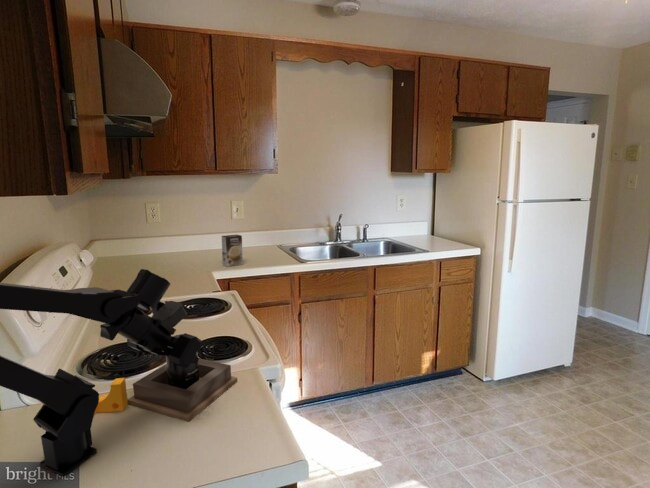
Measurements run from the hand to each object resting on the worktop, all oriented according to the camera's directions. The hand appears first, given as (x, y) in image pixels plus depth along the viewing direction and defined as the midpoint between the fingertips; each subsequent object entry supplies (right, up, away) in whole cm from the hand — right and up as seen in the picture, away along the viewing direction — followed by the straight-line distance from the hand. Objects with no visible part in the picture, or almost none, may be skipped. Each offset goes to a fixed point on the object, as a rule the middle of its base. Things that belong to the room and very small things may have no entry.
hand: (187, 357), depth 92 cm
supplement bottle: (-1, -7, 0) cm, 7 cm away
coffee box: (-18, +15, +124) cm, 126 cm away
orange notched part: (-17, -10, -7) cm, 21 cm away
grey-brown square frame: (-1, -8, 0) cm, 8 cm away
